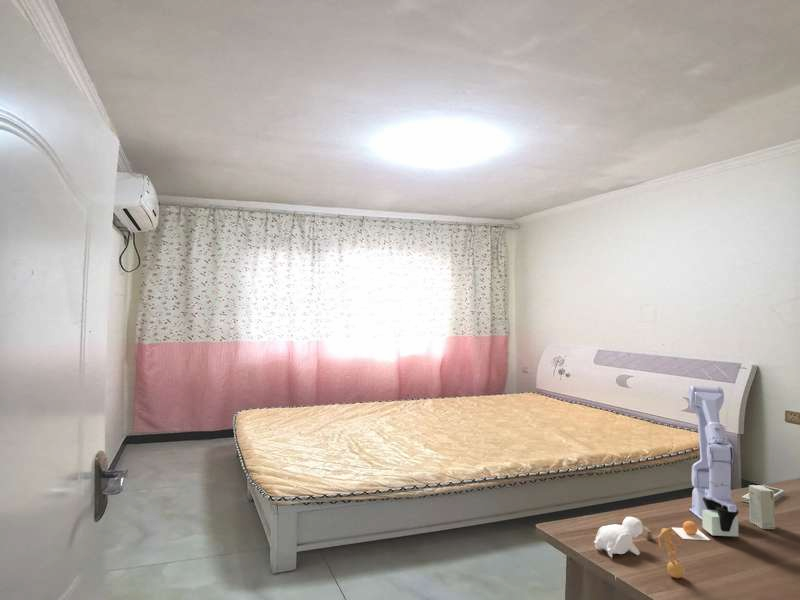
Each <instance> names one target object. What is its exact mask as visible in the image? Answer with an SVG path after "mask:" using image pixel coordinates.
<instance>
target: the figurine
mask: <svg viewBox="0 0 800 600" xmlns="http://www.w3.org/2000/svg"><path fill="white" fill-rule="evenodd" d="M672 536H673V537H675V539H676V540H677V541H678V542H679V543H680V545H681V546H683V544H682V541H681V540H680V538H679V537H678V536H677V535H676V532H673V531H672V528H671V527H668V528H666V527H663V528H661V530H660V534H659V535H658V536H657V540H658V541H657V542H658V545H659V550H660V551H661V552H662V551H663V550H664V549H663V547H662V542H661V538H663V539H664V540H665V543H664V545H665V547H666V549H667V550H668V553H667V554H668V558H669V560H670V561H669V562H668V564H667V566H666V569H667V573H668V574H669V576H671V577H673V578H675V579H681V578H682V577H684V575H685V567H684V565H682V563H681V562H679V560H677V558H676V554H677V553H678V551H679V550H678V548H677V547H676V545H675V543H674V541H672ZM673 550H674V551H673ZM672 558H673V559H672Z"/></svg>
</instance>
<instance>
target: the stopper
mask: <svg viewBox="0 0 800 600" xmlns="http://www.w3.org/2000/svg"><path fill="white" fill-rule="evenodd" d="M632 517H634V518H637V519H638V520H639V521H640V522H641V523H642V526H643V532H642V533H641V535H643V537H644V538H645V539H646V540H647V541H652V539H653V538H652V533H653V532H652V531H651V530H650V529H649V528H648V526H646V525H645V524H644V523H643V521H642V520H641V519H640V518H639V517H638V516H635V515H633V516H632Z"/></svg>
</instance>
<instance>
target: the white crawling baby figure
mask: <svg viewBox="0 0 800 600" xmlns="http://www.w3.org/2000/svg"><path fill="white" fill-rule="evenodd" d="M642 523H643V522H642ZM642 523H641V522H640V521H639V520H638V519H637V518H634V517H633V516H626V517H625V518H624V519H623V521H622V523H621V524H616V523H615V524H608V525H603V526H601V527H599V528H598V531H597V533H596V536H595V540H593V543H594V547H595V549H596V548H597V549H599V550H600V549H603V550H605V552H607V555H608V556H610V557H611V559H613V558H612V557H613V555H615V554H619V555H623V554H626V553H627V552H628V551H630V552H632V554H634V555H637V556H639V555H640V554H641V552H640V550H639V549H638V547H637V546H636V545H635V543H634V542H633V540H634V539H633V538H637V537H638V536H640V535H642V532H643V526H642ZM597 549H596V550H597ZM610 557H609V558H610Z"/></svg>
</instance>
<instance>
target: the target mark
mask: <svg viewBox="0 0 800 600" xmlns="http://www.w3.org/2000/svg"><path fill="white" fill-rule="evenodd" d="M670 529H671V530H673V531H674V533H675V534H677V535H678V536H679V537H680V538H681V539H682V540H694V541H695V540H696V541H711V539H710V538H709V537H708V536H706V535H705V534H704V533H703V532H702V531H701V530H699V529H698V530H697V533H696V534H694V535H690V534H687V533H686V532H685V531H684V529H683V527H670Z"/></svg>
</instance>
